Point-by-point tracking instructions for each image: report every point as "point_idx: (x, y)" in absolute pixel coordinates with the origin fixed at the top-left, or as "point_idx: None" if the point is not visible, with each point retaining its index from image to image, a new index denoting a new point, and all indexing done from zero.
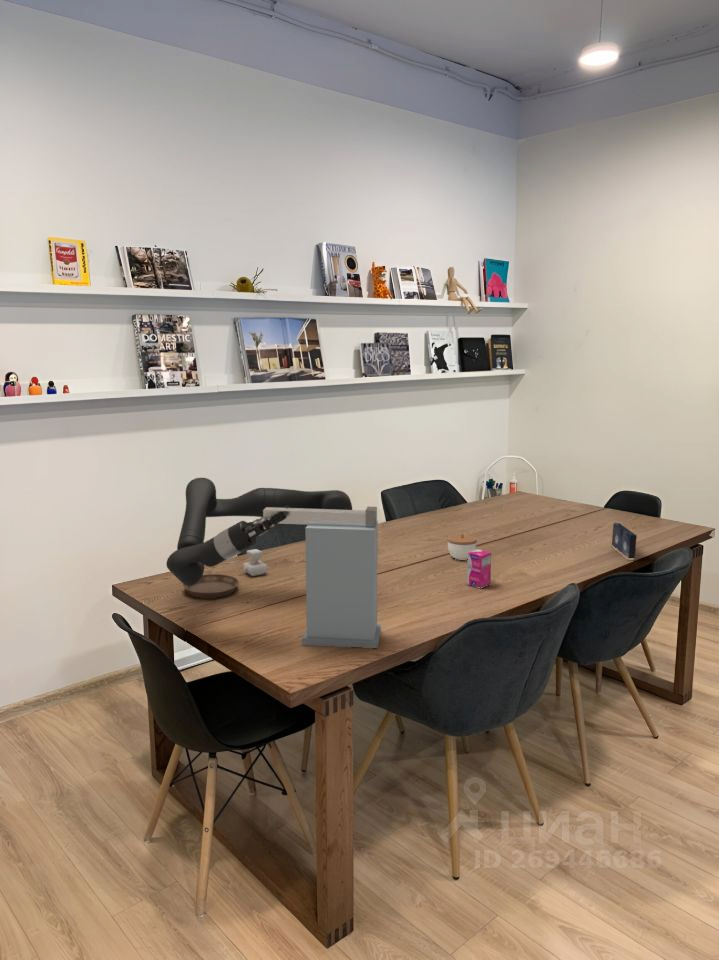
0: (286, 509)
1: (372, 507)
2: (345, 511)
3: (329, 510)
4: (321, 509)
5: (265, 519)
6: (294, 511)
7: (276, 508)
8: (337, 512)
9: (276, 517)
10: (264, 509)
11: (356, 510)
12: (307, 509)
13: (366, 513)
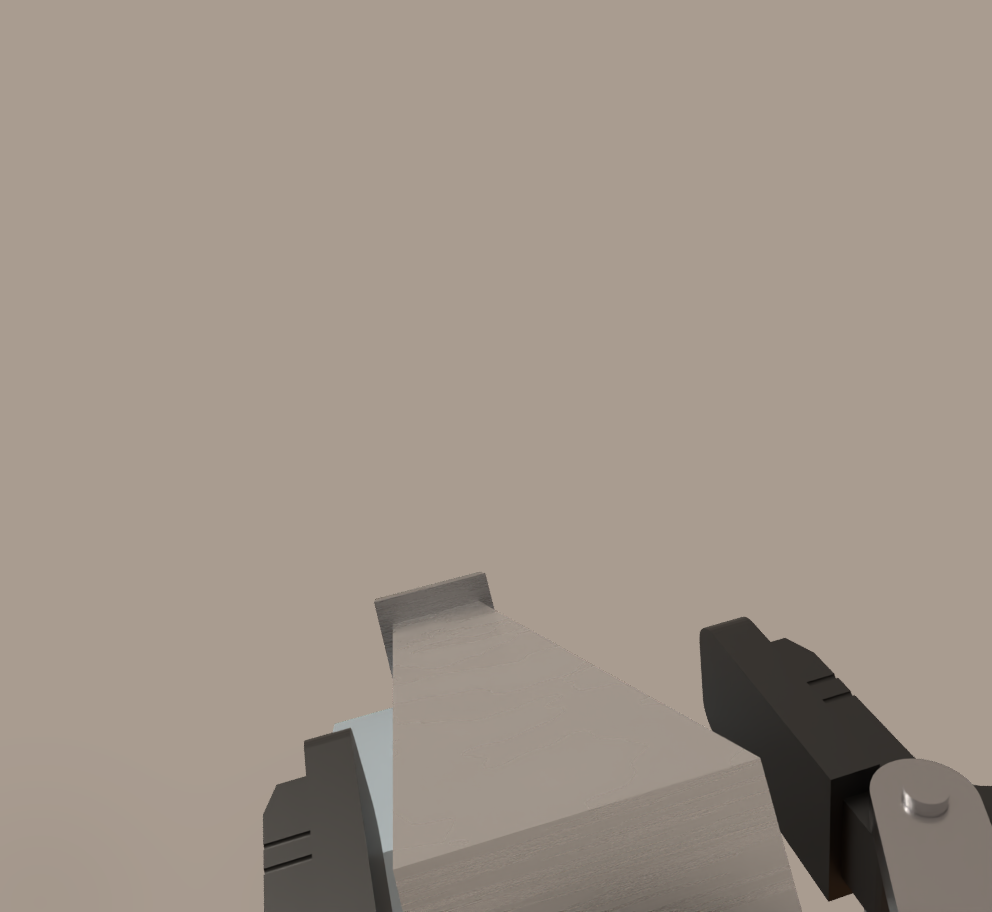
0: (504, 703)
1: (397, 594)
2: (448, 622)
3: (439, 639)
4: (413, 655)
5: (909, 898)
6: (576, 658)
7: (475, 758)
8: (495, 615)
9: (850, 707)
10: (670, 779)
11: (401, 628)
12: (439, 669)
13: (488, 594)
